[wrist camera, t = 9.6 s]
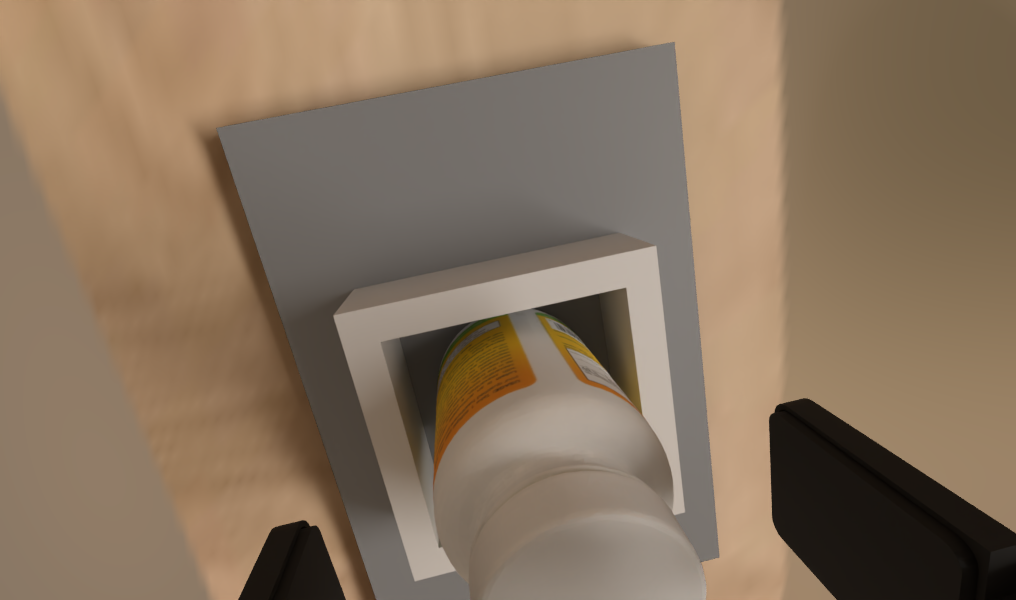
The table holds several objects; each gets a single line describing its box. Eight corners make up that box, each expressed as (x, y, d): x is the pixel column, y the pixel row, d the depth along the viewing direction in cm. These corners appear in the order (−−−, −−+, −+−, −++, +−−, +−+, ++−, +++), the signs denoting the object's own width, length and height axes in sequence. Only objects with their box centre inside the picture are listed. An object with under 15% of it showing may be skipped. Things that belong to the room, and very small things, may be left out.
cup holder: (231, 130, 15) (157, 116, 11) (660, 49, 16) (728, 11, 12) (393, 621, 21) (381, 725, 17) (707, 540, 21) (763, 620, 18)
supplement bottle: (435, 446, 18) (424, 757, 8) (438, 302, 16) (429, 479, 7) (580, 443, 18) (721, 726, 9) (594, 305, 17) (777, 469, 8)
